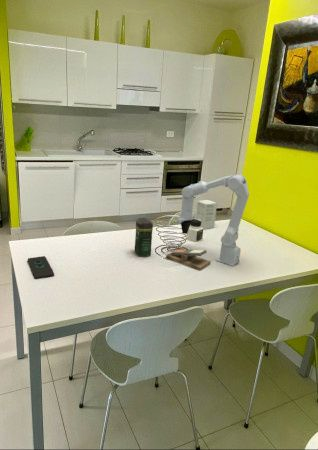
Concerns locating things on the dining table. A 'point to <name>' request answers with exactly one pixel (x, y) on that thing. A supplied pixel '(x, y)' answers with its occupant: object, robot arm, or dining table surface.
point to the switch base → (189, 261)
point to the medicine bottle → (195, 230)
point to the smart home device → (40, 267)
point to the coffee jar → (143, 237)
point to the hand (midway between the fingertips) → (184, 233)
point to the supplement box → (206, 213)
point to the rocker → (189, 252)
